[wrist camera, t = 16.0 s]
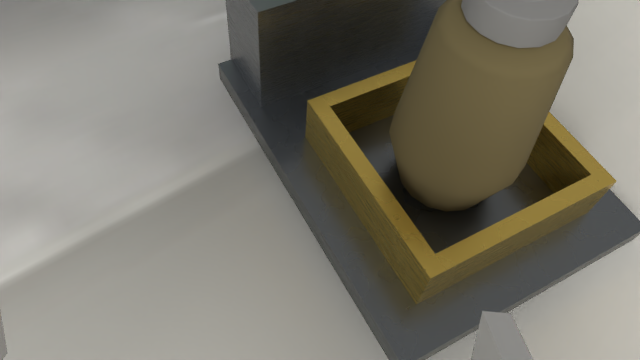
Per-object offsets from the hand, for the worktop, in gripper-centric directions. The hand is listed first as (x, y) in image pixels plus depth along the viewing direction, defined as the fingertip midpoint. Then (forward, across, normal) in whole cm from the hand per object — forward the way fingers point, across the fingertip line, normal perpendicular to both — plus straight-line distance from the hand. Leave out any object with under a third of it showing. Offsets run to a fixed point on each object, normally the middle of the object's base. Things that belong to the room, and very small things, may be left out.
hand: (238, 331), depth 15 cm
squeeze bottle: (+21, +10, -3) cm, 23 cm away
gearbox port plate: (+24, +8, -3) cm, 25 cm away
